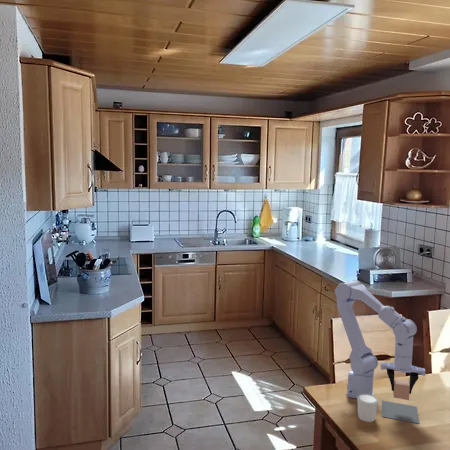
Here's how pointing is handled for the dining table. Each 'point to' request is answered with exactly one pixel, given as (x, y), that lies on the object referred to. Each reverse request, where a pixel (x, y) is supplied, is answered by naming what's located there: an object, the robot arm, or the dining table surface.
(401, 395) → the terracotta block
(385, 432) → the dining table surface
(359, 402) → the white cup
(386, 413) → the slate mat
